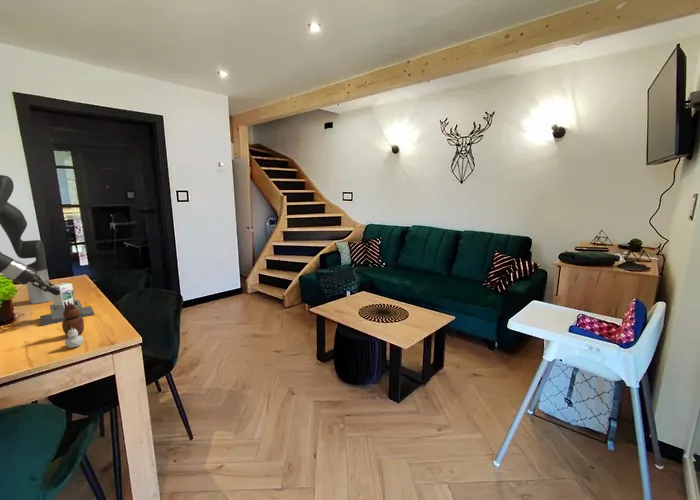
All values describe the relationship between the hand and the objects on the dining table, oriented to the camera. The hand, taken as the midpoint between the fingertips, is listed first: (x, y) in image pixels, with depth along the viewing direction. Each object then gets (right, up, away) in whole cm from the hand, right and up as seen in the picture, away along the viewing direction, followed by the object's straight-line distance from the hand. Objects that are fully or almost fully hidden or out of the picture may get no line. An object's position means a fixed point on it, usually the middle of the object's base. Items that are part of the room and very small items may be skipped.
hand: (58, 291), depth 156 cm
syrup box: (+1, -11, +3) cm, 12 cm away
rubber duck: (+30, -17, -28) cm, 45 cm away
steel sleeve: (+1, -12, +3) cm, 13 cm away
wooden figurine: (+22, -16, -18) cm, 33 cm away
